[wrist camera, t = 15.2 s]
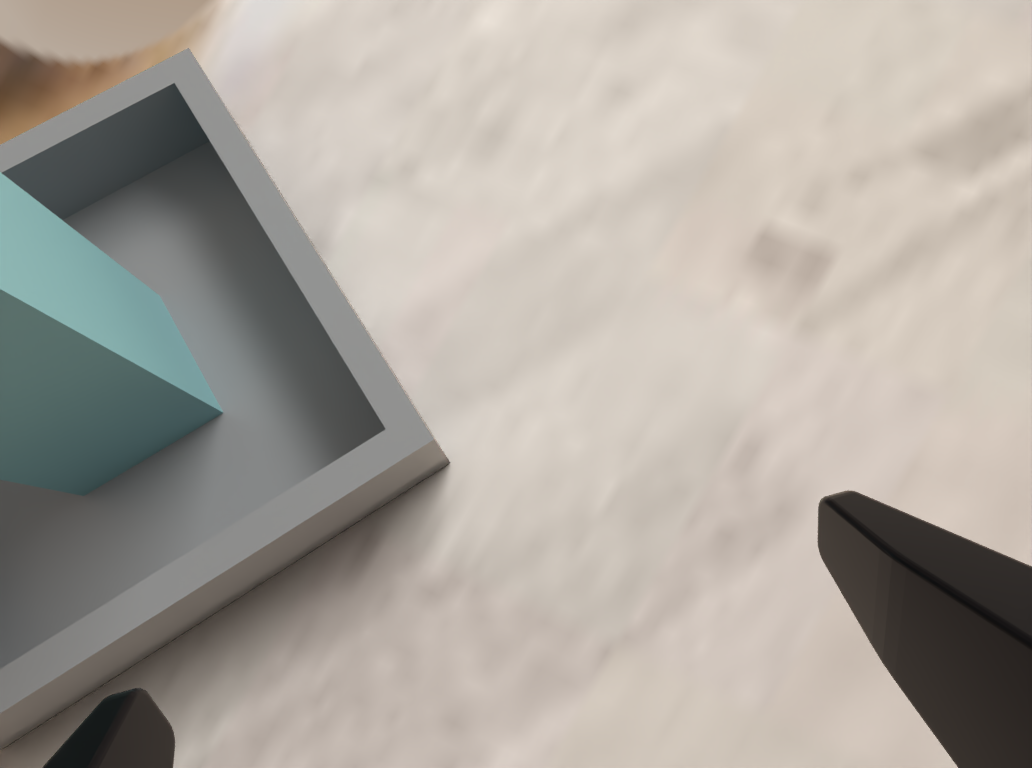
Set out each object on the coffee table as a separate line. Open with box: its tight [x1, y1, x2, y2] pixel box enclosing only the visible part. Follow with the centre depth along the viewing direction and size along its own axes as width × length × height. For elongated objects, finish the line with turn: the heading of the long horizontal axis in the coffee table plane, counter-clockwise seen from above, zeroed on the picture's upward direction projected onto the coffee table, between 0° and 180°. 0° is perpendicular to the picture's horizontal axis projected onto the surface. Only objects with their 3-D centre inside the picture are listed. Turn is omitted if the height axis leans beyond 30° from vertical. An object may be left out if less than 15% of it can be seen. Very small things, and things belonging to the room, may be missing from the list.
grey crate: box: [0, 48, 450, 749], centre depth 22 cm, size 16×16×4 cm
